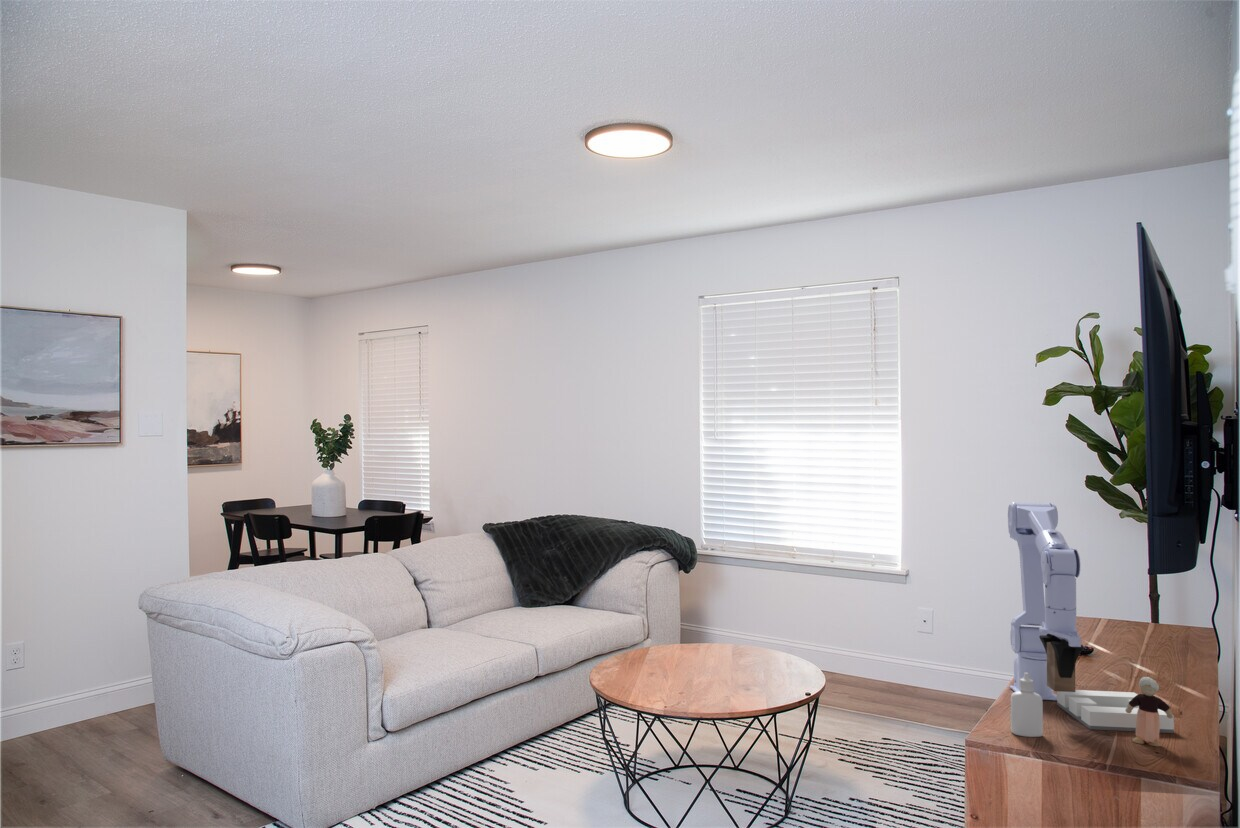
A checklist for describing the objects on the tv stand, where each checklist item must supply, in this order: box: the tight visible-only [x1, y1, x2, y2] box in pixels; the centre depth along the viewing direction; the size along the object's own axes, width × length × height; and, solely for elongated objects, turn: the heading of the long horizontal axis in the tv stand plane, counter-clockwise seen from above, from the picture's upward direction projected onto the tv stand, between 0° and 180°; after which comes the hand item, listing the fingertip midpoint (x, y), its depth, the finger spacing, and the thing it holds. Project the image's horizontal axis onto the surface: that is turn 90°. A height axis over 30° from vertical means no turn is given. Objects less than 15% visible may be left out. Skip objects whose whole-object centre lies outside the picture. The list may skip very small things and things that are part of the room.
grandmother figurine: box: [1125, 676, 1174, 747], centre depth 163 cm, size 8×4×13 cm, turn 69°
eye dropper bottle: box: [1010, 673, 1044, 738], centre depth 167 cm, size 4×6×12 cm
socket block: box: [1056, 689, 1175, 734], centre depth 177 cm, size 16×16×4 cm
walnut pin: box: [1047, 642, 1076, 692], centre depth 173 cm, size 4×4×9 cm
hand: (1060, 674), depth 173 cm, fingers closed on walnut pin, 4 cm apart
